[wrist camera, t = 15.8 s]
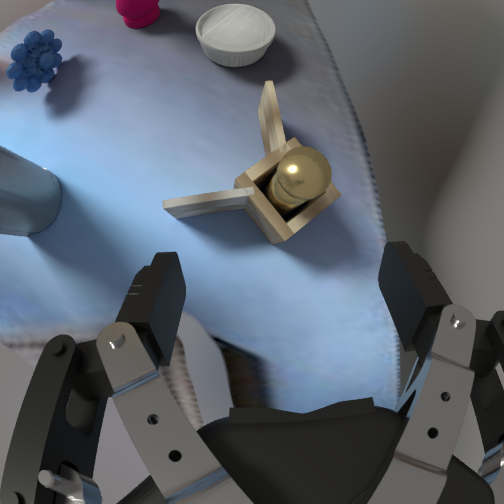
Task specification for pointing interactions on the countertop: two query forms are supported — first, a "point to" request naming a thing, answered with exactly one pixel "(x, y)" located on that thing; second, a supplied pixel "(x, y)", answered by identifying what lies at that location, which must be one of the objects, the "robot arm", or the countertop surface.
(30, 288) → the countertop surface
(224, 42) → the ramekin
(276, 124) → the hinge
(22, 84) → the grapes
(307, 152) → the brass peg
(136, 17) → the pepper mill
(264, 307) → the countertop surface
